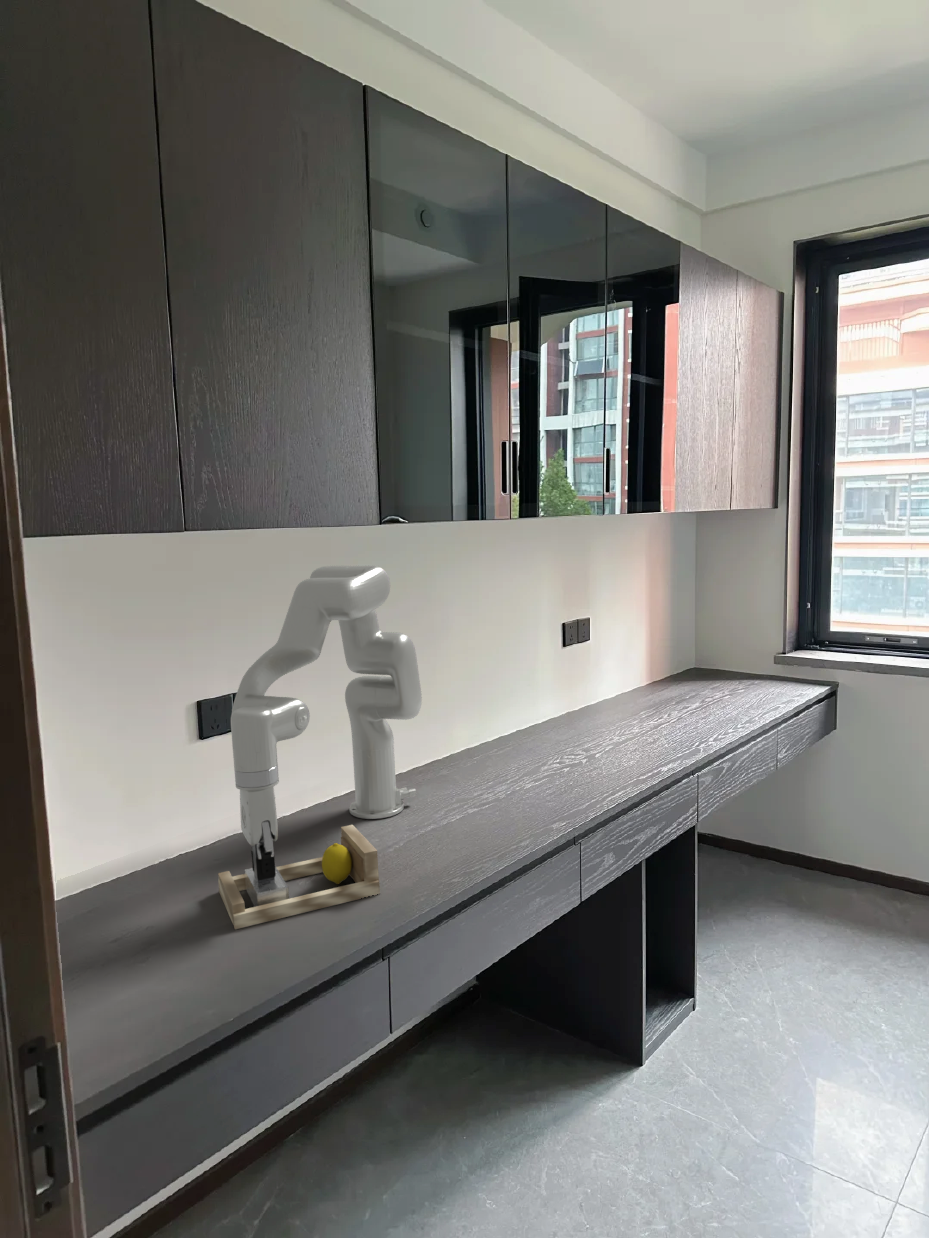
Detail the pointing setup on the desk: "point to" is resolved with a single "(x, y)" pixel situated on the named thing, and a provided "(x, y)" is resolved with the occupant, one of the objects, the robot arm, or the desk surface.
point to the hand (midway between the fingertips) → (264, 873)
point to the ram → (264, 885)
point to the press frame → (361, 873)
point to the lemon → (336, 863)
